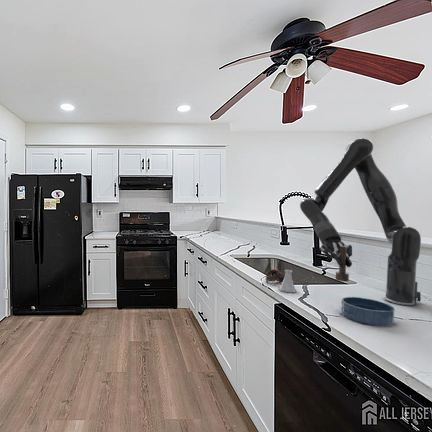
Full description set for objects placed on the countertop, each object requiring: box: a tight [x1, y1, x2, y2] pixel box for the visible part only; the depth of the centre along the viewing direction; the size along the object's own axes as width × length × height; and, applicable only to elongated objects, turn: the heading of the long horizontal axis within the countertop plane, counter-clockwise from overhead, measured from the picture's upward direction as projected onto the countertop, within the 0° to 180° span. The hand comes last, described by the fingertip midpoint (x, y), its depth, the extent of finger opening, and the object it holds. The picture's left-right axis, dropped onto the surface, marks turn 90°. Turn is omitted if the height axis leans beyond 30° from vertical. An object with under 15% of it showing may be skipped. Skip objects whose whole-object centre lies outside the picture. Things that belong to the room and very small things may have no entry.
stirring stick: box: [335, 246, 350, 282], centre depth 116 cm, size 4×4×14 cm
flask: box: [279, 269, 297, 293], centre depth 136 cm, size 7×7×10 cm
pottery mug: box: [265, 268, 285, 283], centre depth 151 cm, size 12×10×8 cm
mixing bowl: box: [340, 296, 395, 327], centre depth 104 cm, size 15×15×6 cm
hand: (346, 266), depth 114 cm, fingers closed on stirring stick, 2 cm apart
